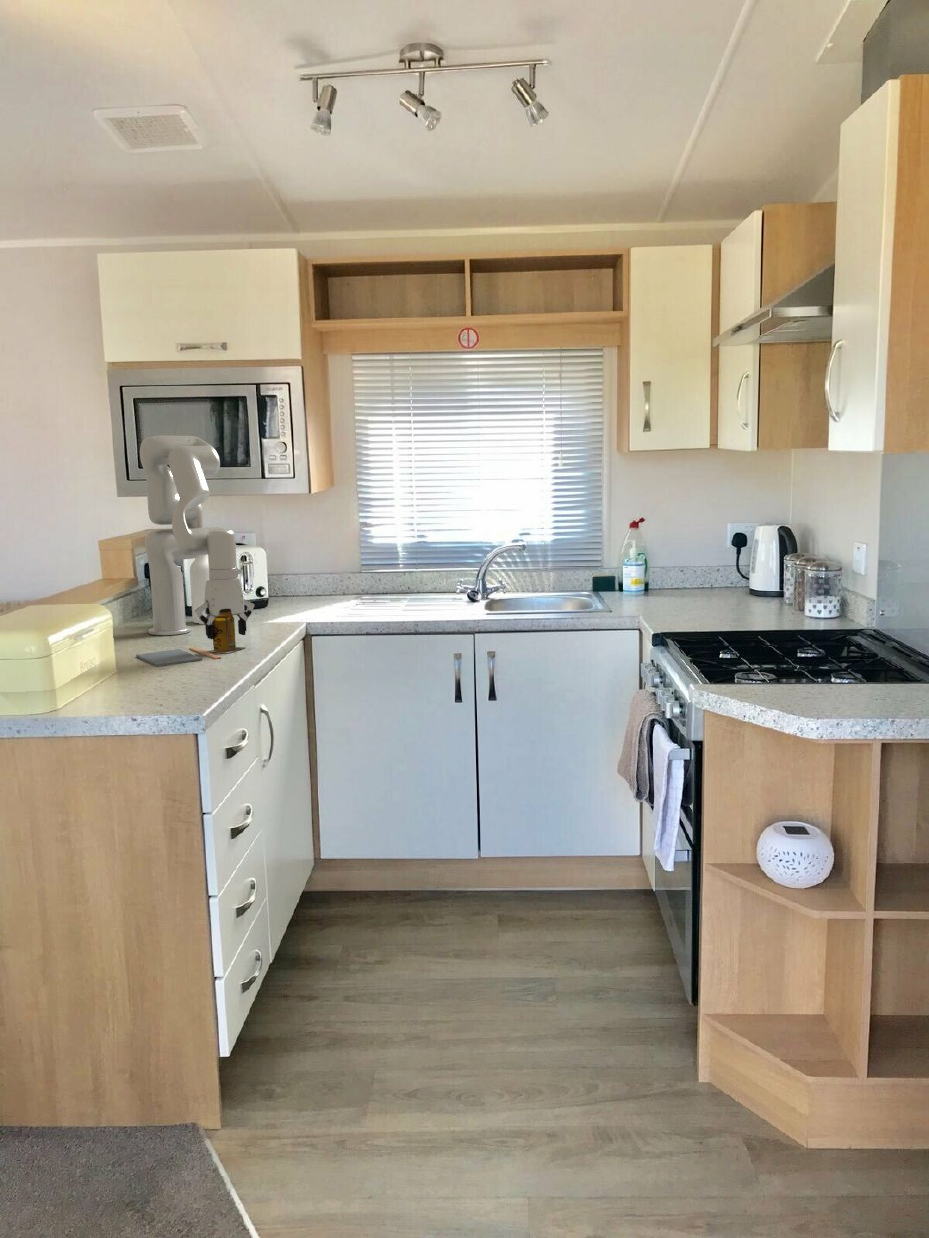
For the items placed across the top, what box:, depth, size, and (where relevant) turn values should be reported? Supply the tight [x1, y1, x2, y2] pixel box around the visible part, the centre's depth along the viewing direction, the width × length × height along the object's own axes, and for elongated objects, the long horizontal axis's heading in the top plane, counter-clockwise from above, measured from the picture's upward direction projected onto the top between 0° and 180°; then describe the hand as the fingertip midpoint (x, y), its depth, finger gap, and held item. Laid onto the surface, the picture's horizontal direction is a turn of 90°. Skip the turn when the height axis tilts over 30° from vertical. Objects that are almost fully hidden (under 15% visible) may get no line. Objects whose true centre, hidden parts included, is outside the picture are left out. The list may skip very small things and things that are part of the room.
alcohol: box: [189, 555, 209, 625], centre depth 310 cm, size 9×9×30 cm
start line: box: [189, 646, 221, 660], centre depth 261 cm, size 18×2×1 cm, turn 37°
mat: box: [135, 648, 203, 667], centre depth 255 cm, size 16×12×1 cm
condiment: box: [208, 609, 246, 654], centre depth 265 cm, size 7×8×12 cm
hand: (226, 636), depth 266 cm, fingers open, 8 cm apart
